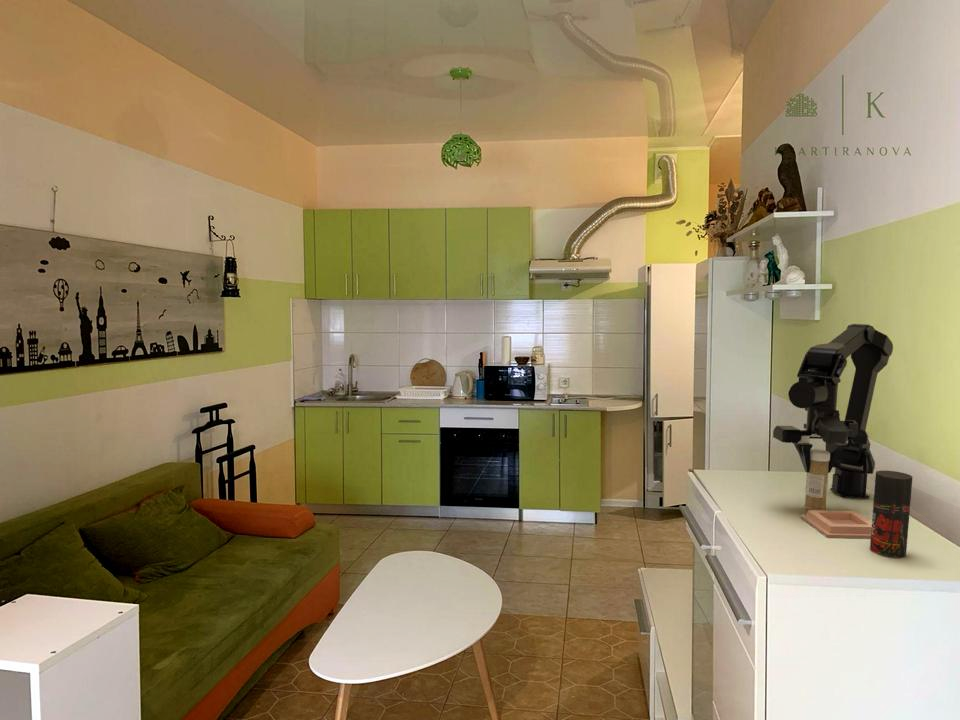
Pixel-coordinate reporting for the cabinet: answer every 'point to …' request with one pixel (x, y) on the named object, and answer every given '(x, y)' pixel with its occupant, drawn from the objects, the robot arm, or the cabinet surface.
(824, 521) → the tray
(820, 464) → the sprinkles bottle
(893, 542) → the deodorant
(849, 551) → the cabinet surface
